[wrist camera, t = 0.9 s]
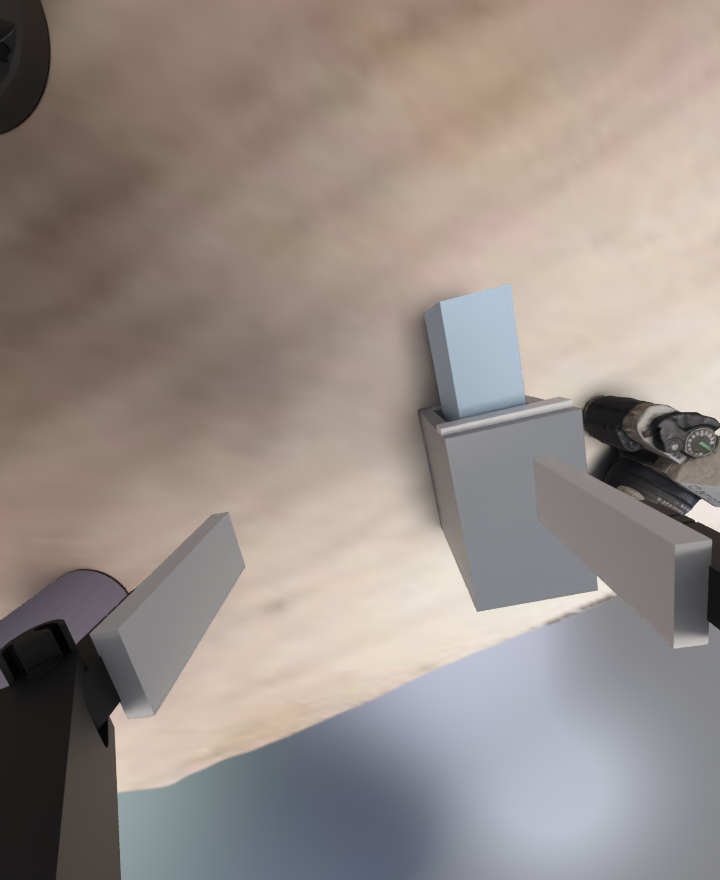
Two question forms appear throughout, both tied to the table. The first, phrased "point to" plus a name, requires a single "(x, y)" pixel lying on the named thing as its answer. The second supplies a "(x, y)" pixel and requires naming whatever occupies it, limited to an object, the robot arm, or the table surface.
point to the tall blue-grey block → (476, 353)
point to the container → (65, 606)
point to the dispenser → (505, 499)
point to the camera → (658, 451)
